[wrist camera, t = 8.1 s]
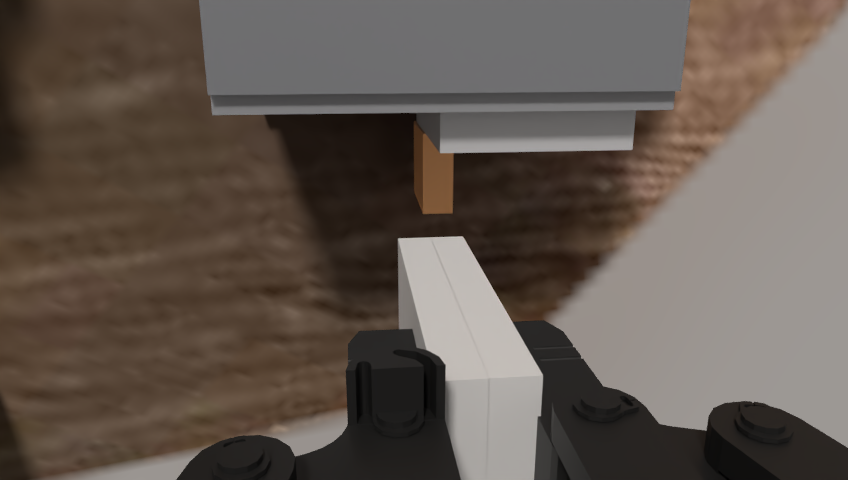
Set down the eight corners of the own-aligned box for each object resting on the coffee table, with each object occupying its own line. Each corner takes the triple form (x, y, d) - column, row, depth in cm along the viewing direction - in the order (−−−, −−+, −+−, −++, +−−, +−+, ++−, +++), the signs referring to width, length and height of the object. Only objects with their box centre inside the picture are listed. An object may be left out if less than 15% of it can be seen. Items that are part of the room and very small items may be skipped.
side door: (414, 191, 30) (436, 248, 22) (413, 88, 29) (437, 109, 21) (553, 188, 31) (623, 242, 23) (559, 87, 30) (636, 106, 22)
